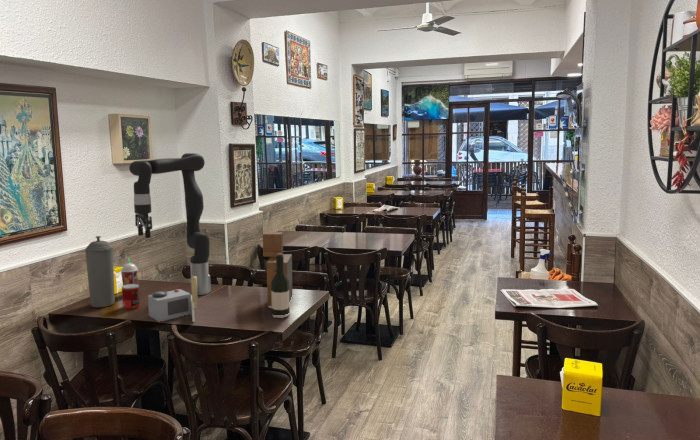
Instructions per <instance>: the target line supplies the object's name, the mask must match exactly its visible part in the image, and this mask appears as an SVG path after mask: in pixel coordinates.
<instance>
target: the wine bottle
mask: <svg viewBox="0 0 700 440" xmlns="http://www.w3.org/2000/svg"><path fill="white" fill-rule="evenodd" d="M283 254H284V253H283ZM283 254H282V253H278V254H277V256H276V275H275V277H274V278H273V280H272V282H271V296H272V308H271V315H272V314H273V315H285V314H288V313H289V314H290V305H289V280H288V279H287V277H286V276H285V274H284V255H283Z"/></svg>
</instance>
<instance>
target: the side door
mask: <svg viewBox="0 0 700 440" xmlns="http://www.w3.org/2000/svg"><path fill="white" fill-rule="evenodd" d="M191 281H192V291H191V314H190V315H191V320H192V323H195V322H196V318H195V315H196V314H195V309H196V308H198V303H199V301H198V300H199V295H198V293H197V277H196V276H193V277H191V276H190V282H191Z"/></svg>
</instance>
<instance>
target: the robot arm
mask: <svg viewBox="0 0 700 440" xmlns="http://www.w3.org/2000/svg"><path fill="white" fill-rule="evenodd" d="M204 166H205V158H204V157H203V156H202V154H199V153H191V152H189V153H188V152H187V153H184V154H182V156H181V157H179V158H178V157H177V158H172V157H171V158H167V157H166V158H155V159H150V160H149V159H148V160H147V159H146V160H135V161H133V162H130V165H129V167H128V169H129V172H130V174H132V175H133V176H135V177H137V179H138V180H137V181H135V182H133V209H134V214H135V217H134V220H135V221H134V222H135V223H134V224H135V227H136V228H137V234H138V236H140V237H141V236H144V237H145V239H150V238H152V237H151V230H153V219H152V218H153V217H152V216H149V214H151V213H152V200H151V199H152V198H151V191H150V190H151V188H150V185H151V179H152V175H159V174H166V173H173V172H179V171H181V174H182V181H183V193H184V204H185V206H184V207H185V213H186V214H185V216H186V243H187V246H188V247H189V248H190V249H193V251H194V254H193V255H192V256H191V257H189V258H190V259H189V260H190V262H189V263H190V264H189V265H190V278H191V277H193V276H196V277H197V293H198V296H203V295H207V294H209V293H211V291H212V289H211V287H212V286H211V274H209V273H210V271H209V257H210V249H211V248H210V247H211V245H210V244H211V243H210V242H211V241H210V238H209V236H208V235H207V234H206V233H205V232H201V229H200V219H201V217H202V214H203V212H204V207H205V206H204V196H203V193H202V191H201V189H200V187H199V185H198V183H197V180H196V177H195V176H196V175H195V172H199V171H201V170H202V169H203V168H204ZM144 232H145V233H144ZM144 234H145V235H144ZM190 284H191V285H190V287H191V291H190V292H192V281H191V280H190Z"/></svg>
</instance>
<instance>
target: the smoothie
mask: <svg viewBox="0 0 700 440" xmlns="http://www.w3.org/2000/svg"><path fill="white" fill-rule="evenodd" d="M127 259H128V263H125V264H124V265H122V268H121V270H120V273H121V281H122V286H123V285H127V284H138V282H139V281H138V275H139V273H138V270H139V268H138V267H137V265H136V264H135V263H131V260H130V257H128V258H127ZM138 285H139V284H138Z"/></svg>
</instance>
